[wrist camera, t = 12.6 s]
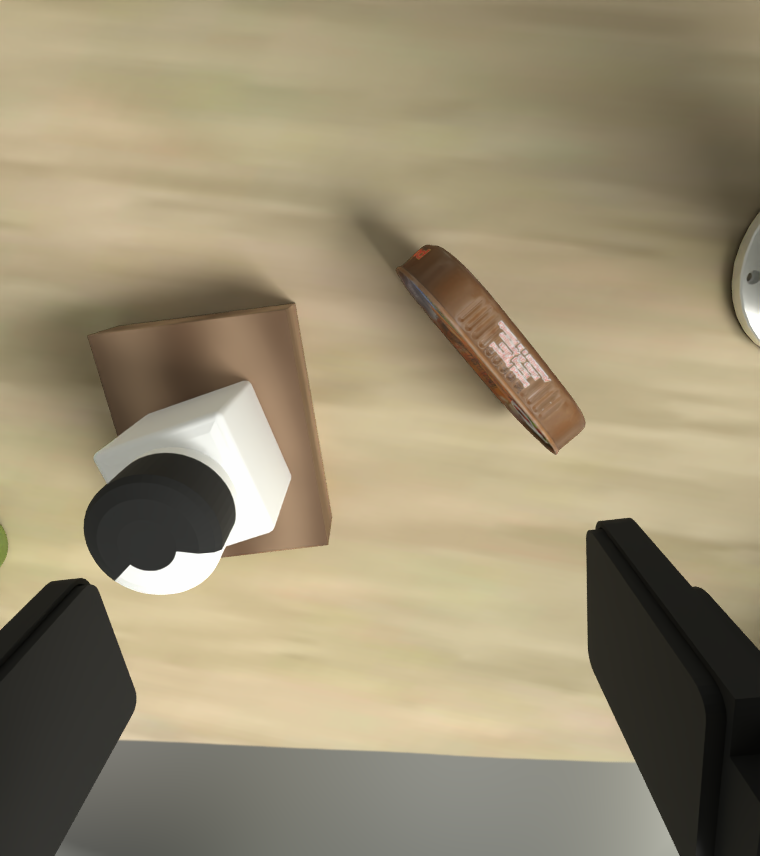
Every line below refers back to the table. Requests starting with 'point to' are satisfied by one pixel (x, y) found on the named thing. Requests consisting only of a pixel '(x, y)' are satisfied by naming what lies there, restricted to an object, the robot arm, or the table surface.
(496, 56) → the table surface
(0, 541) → the plant pot
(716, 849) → the robot arm
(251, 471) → the medicine bottle
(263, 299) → the table surface
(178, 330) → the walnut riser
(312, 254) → the table surface
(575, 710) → the table surface
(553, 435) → the tin
